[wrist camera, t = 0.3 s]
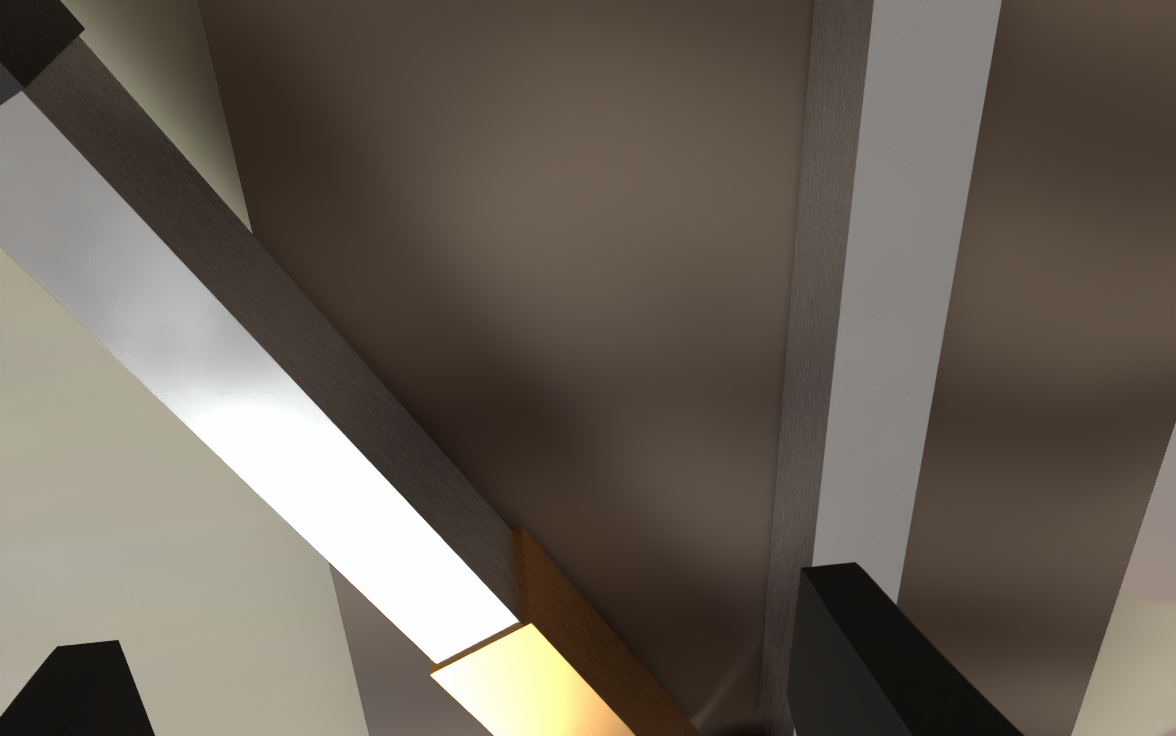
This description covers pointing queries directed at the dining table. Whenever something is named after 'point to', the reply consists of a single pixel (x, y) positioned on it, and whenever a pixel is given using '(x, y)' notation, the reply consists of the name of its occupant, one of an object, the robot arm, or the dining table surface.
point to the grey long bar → (869, 289)
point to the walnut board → (719, 310)
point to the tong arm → (290, 397)
